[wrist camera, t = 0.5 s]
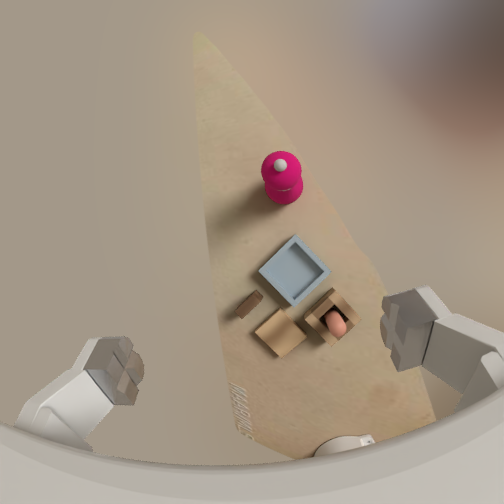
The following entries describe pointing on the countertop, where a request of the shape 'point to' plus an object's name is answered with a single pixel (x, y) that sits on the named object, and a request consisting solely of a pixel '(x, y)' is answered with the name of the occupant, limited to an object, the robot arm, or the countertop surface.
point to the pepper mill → (282, 177)
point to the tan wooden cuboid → (280, 333)
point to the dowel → (335, 322)
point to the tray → (295, 271)
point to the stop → (249, 304)
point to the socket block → (322, 307)
